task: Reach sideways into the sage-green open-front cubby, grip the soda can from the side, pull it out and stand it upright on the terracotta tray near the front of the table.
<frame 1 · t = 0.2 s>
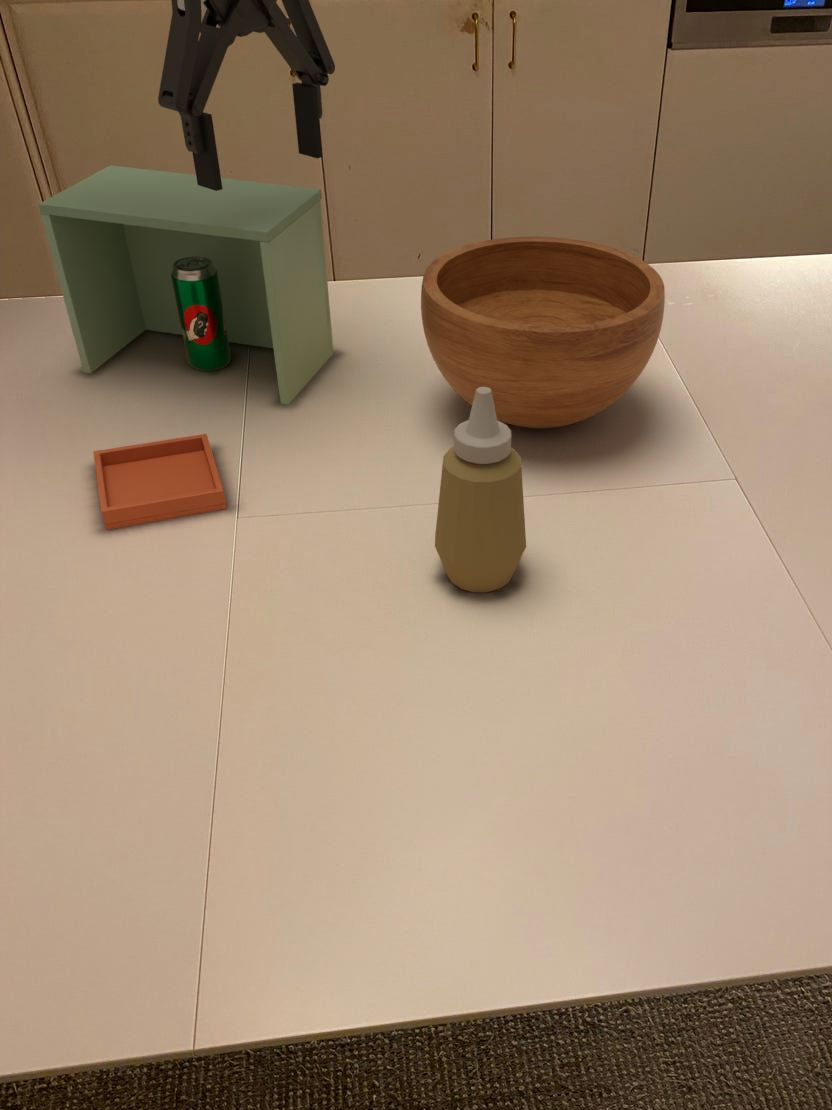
hand: (262, 170, 99), 23 cm above the table, tool pointing down, fingers open, 13 cm apart
cubby: (210, 363, 118), on the table
soda can: (210, 365, 118), on the table
tray: (160, 488, 98), on the table
bowl: (535, 414, 110), on the table
squeeze bottle: (479, 575, 88), on the table
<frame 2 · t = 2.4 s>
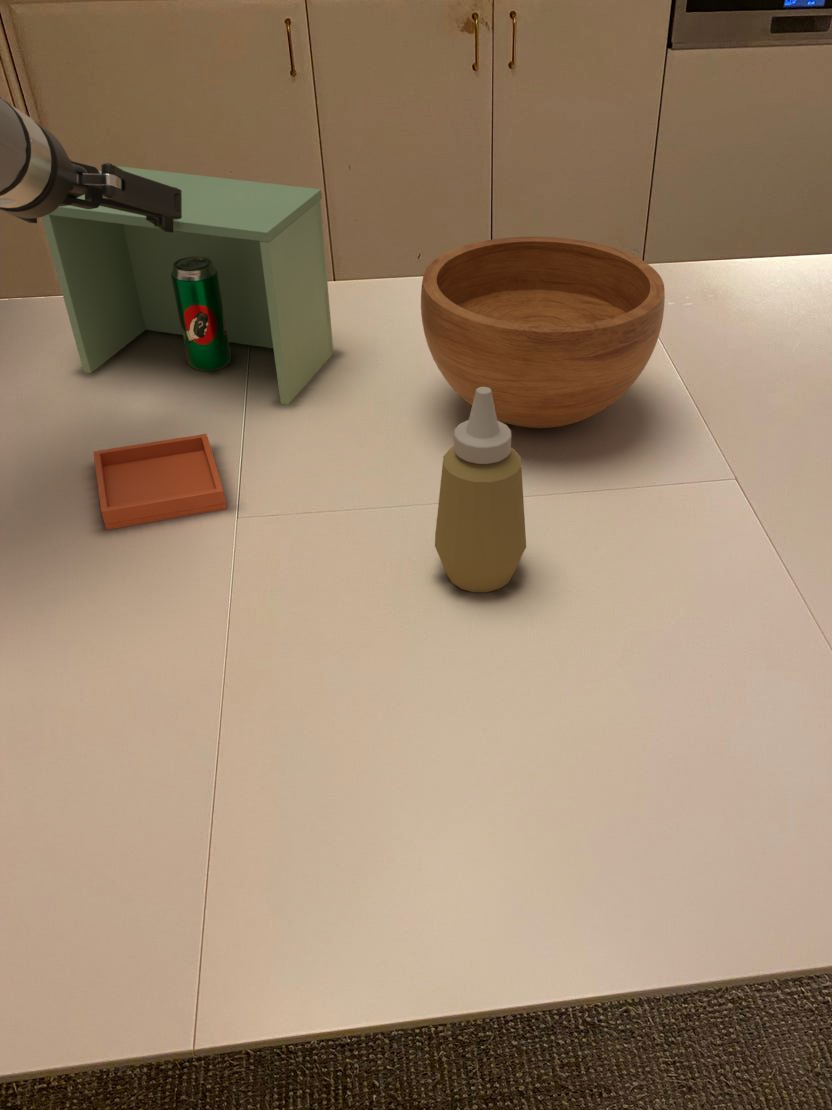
hand: (101, 213, 99), 20 cm above the table, tool tilted 60°, fingers open, 13 cm apart
nothing on the table moved.
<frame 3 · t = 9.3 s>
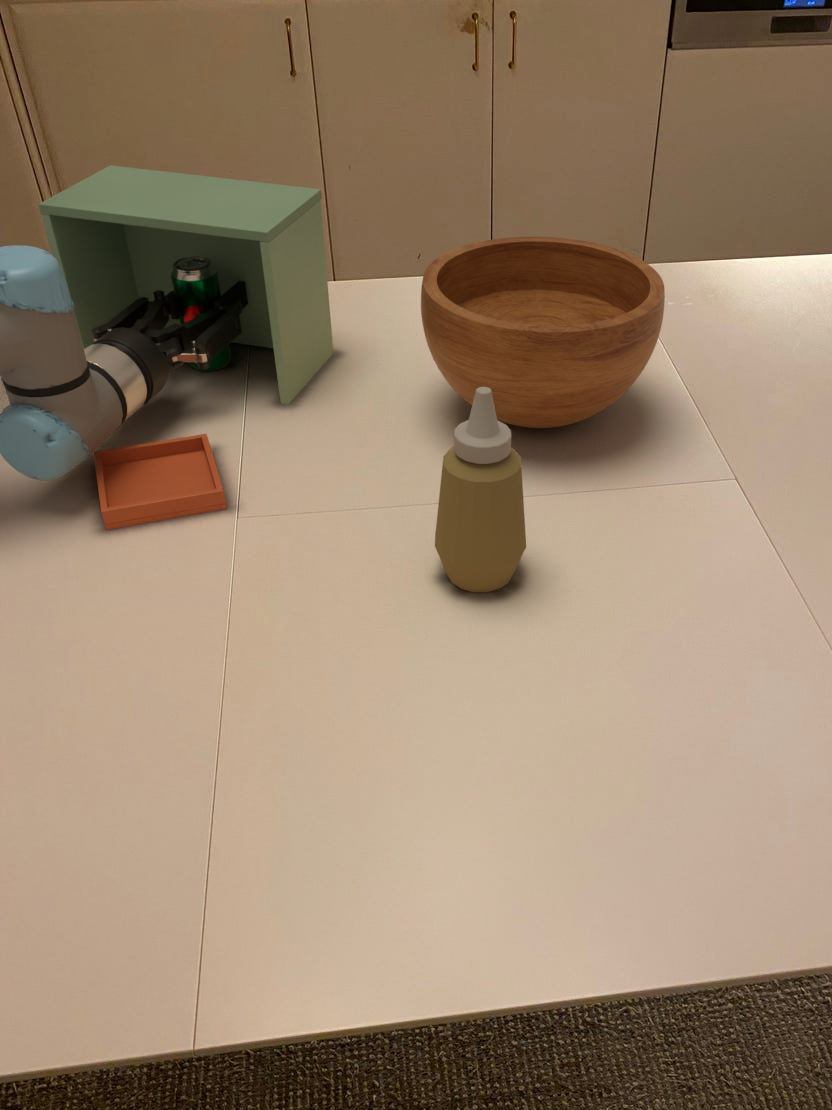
hand: (221, 289, 117), 7 cm above the table, tool horizontal, fingers closed on soda can, 5 cm apart
soda can: (210, 365, 118), on the table, touching gripper
everything else where it was.
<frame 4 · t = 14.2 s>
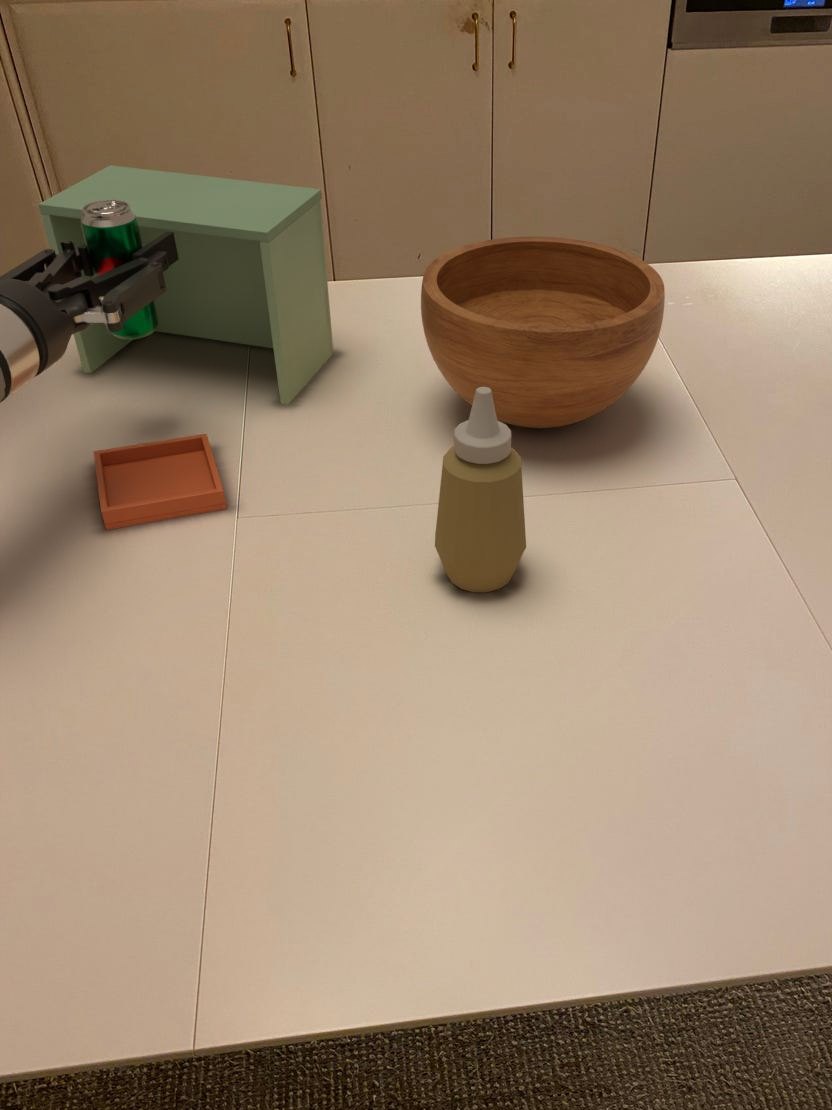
hand: (146, 242, 98), 18 cm above the table, tool horizontal, fingers closed on soda can, 5 cm apart
soda can: (134, 332, 99), point 11 cm above the table, touching gripper
everything else where it was.
when the fingers open (8 cm above the table, at t = 19.0 s): soda can stays where it is, resting on tray.
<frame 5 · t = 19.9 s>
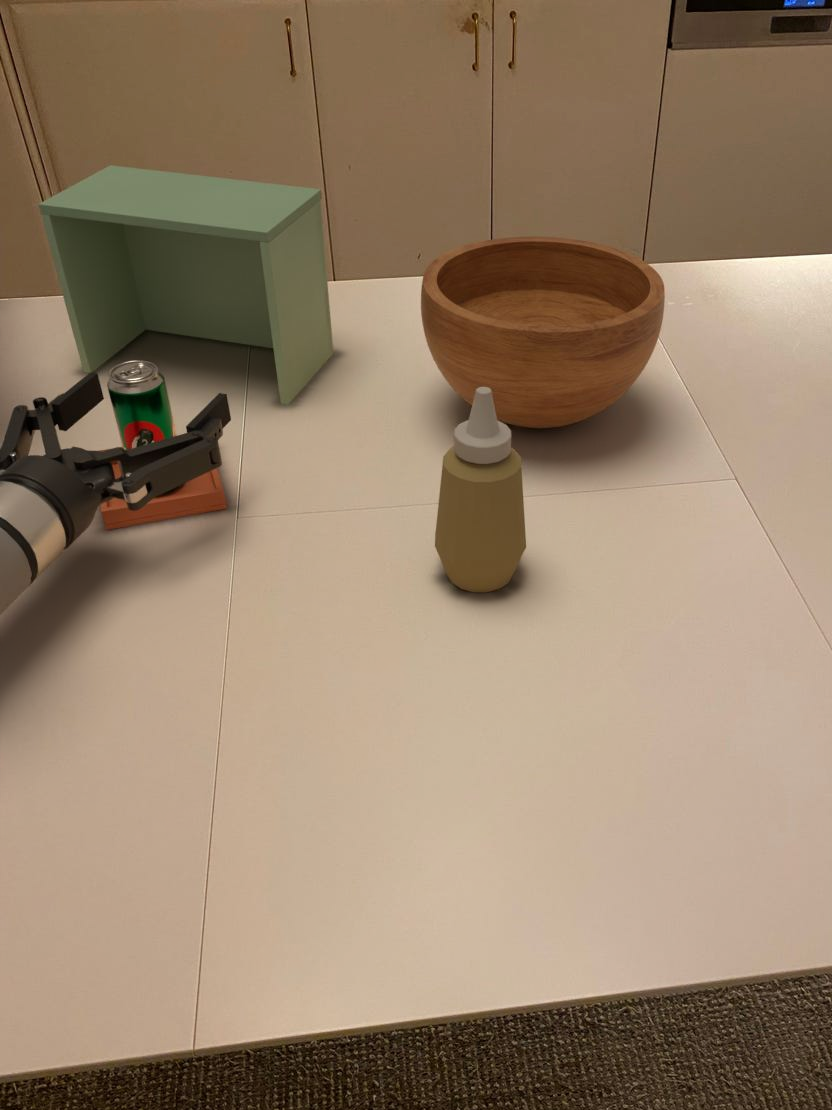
hand: (160, 395, 94), 8 cm above the table, tool horizontal, fingers open, 13 cm apart
soda can: (160, 485, 97), resting on tray
everything else where it was.
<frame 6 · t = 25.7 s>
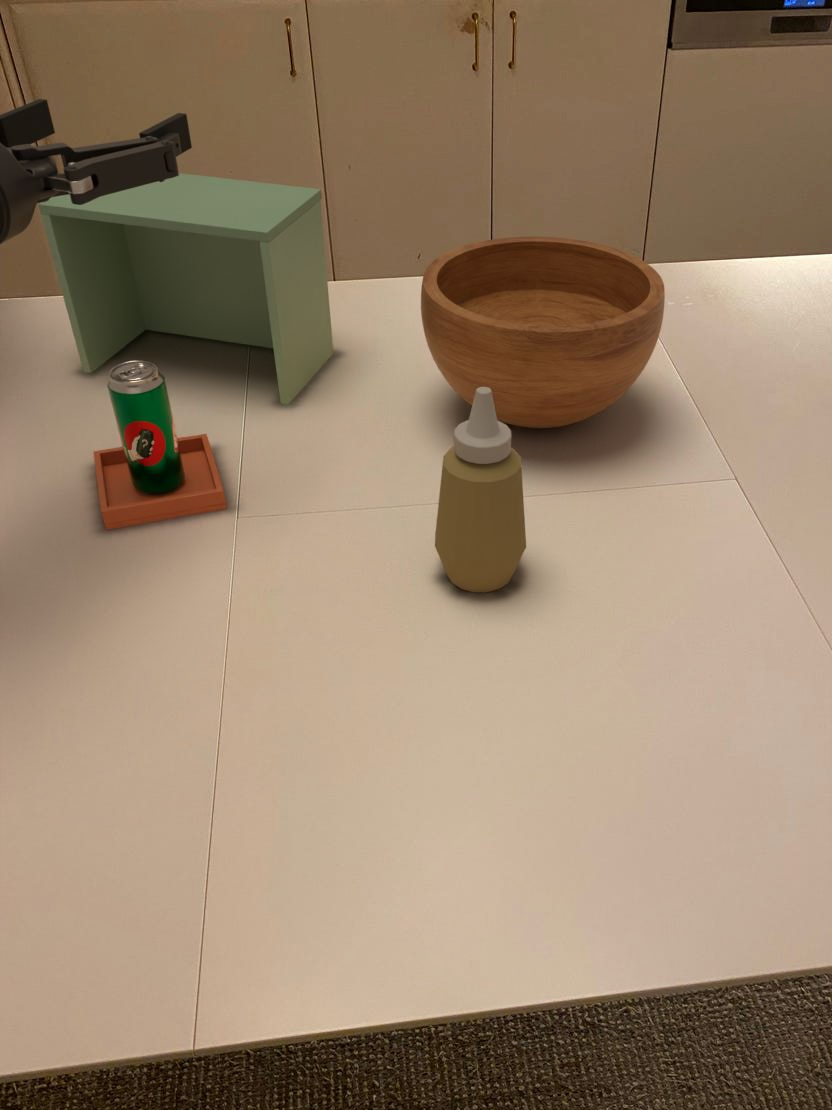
hand: (115, 123, 87), 30 cm above the table, tool horizontal, fingers open, 13 cm apart
nothing on the table moved.
at the end: soda can inside the target area in the tray (0.1 cm from its centre), point 0.4 cm above the tray's base; soda can tilted 0°; the gripper is holding nothing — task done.
